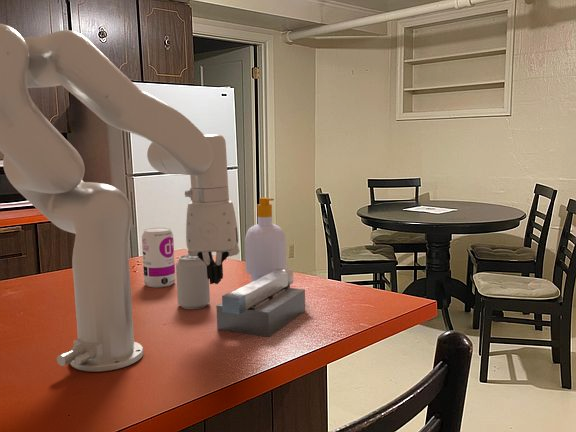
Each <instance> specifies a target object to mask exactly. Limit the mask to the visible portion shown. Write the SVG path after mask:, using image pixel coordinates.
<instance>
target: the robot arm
mask: <svg viewBox="0 0 576 432" xmlns="http://www.w3.org/2000/svg"><path fill="white" fill-rule="evenodd" d="M58 86H60V87H61V86H62V87H63V88H65V90H67V91H68V92H69V93H70V94H71V95H73V96H74V97H75V98H76V99H77V100H78V101H80V102H81V103H82V104H83V105H84V106H85V107H87V109H89V110H90V111H91V112H92V113H93V114H95V115H96V116H97V117H98V118H99V119H100V120H101V121H103V122H104V123H105V124H107V125H109V126H111V127H113V128H115V129H118V130H120V131H123V132H126V133H130V134H133V135H137V136H139V137H141V138H144V139H146V140H148V141H150V142H151V143H150V144H149V147H148V148H147V156H146V157H147V160H148V162H149V164H150V166H151V167H152V168H153V169H154V170H155V171H157V172H158V173H162V174H167V175H185V176H189V177H190V188H189V189H188V190H185V191H184V197H185V198H190V202H188V204H187V208H186V223H185V226H186V227H185V230H186V231H185V237H186V238H185V241H186V242H185V243H186V248H187V250H188V251H187V254H189V255H192V256H196V257H199V258H200V259H201V260H202V261H203V262H204V264H205V265H207V278H208V279H209V285H218V284H219V283H220V282H221V281H222V279H223V278H224V270H223V269H224V267H223V263H224V261H226V260H227V259H228V258H229V257H233V256H236V255H238V254H239V253H240V248H239V245H238V244H239V232H238V224H237V218H236V211H235V207H234V204H233V200H230V198H229V197H230V195H229V178H228V176H229V175H228V159H227V143H226V139H225V137H224V136H223V135H221V134H204V133H203V132H202V131H201V130H200V129H199V128H198V127H197V125H195V124H194V123H193V122H192V121H191V120H190V119H189V118H188V117H187V116H186V115H184V114H183V113H181V112H180V111H178V110H177V109H175V108H174V107H172V106H170V105H168V104H167V103H165V102H164V101H162V100H160V99H159V98H157V97H156V96H153V95H152V94H150V93H148V92H146V91H145V90H142V89H141V88H139V87H138V86H137V85H136V84H135V83H134V82H133V81H132V80H131V79H130V78H129V77H128V76H127V75H126V74H124V72H122V71H121V70H120V68H118V67H117V66H116V65H115V64H114V63H113V61H111V60H110V59H109V58H108V57H107V56H106V55H105V54H104V53H103V52H102V51H101V50H100V49H99V48H98V47H97V46H95V45H94V44H93V42H92V41H90V40H89V39H88V38H87V37H85V36H84V35H83V34H81V33H79V32H77V31H75V30H70V29H64V30H59V31H54V32H51V33H48V34H45V35H42V36H22V35H21V34H20V33H19V32H18V31H17V30H16V29H14V27H11V26H10V25H7V24H4V23H0V153H1V154H3V159H2V164H3V165H2V166H3V170H4V174H5V175H6V178H7V180H8V181H9V183H10V184H11V185H12V187H13V188H14V189H15V190H17V192H18V193H20V195H22V197H24V198H25V199H26V200H27V201H28V202H29V203H30V204H31V205H32V206H33V207H35V209H36V210H38V211H39V212H40V214H42V215H43V216H44V217H45V218H46V219H47V220H48V221H50V222H51V223H52V224H53V226H56V227H57V228H58V229H60V230H63V231H64V232H68V233H70V234H71V233H72V234H75V237H74V245H73V251H72V258H71V260H72V263H71V264H72V265H71V266H72V277H73V278H72V279H73V289H74V290H73V291H74V305H75V316H76V319H75V320H76V329H77V330H76V332H77V339H75V340H73V342H72V343H73V346H72V347H71V348H70V350H69V351H65V352H63V353H61V354H59V355H57V357H56V362H57V364H58V365H59V366H61V367H64V366H66V365H68V364H70V366H71V367H72V368H74V369H76V370H78V371H81V372H82V371H83V372H93V373H94V372H99V373H100V372H108V371H114V370H119V369H122V368H125V367H129V366H131V365H133V364H134V363H136V362H138V361H139V360H141V358H142V357H143V355H144V347H143V345H142V344H141V343H139V342H137V341H135V339H134V338H135V337H134V336H135V335H134V322H133V304H132V301H133V299H132V288H131V287H132V286H131V285H132V284H131V271H130V270H131V268H130V234H131V228H132V218H133V215H132V206H131V203H130V201H129V199H128V197H127V196H126V195H125V193H124V192H122V190H120V189H119V188H118V187H115V186H114V185H112V184H111V185H110V184H107V183H101V182H100V183H99V182H92V181H90V182H89V181H84V180H83V179H84V176H85V171H86V170H85V169H86V168H85V163H84V160H83V158H82V155H80V153H79V151H78V150H77V149H76V148H75V147H74V146H73V145H72V144H71V143H70V141H68V140H67V139H66V138H65V137H64V136H63V134H62V133H61V132H60V130H58V128H56V127H55V126H54V125H53V124H52V123H51V122H50V121H49V119H48V118H47V117H46V116H45V115H44V114H43V113H42V111H41V110H40V109H39V108H38V106H37V105H36V104H35V103H34V101H33V100H32V97H31V95H30V91H29V90H28V89H35V88H52V87H58ZM215 252H216V253H215ZM213 253H215V260H214V258H213Z"/></svg>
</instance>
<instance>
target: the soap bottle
mask: <svg viewBox="0 0 576 432" xmlns="http://www.w3.org/2000/svg"><path fill="white" fill-rule="evenodd" d="M270 201H274V198H269V197H259V204H258V203H257V206H256V207H257V209H256V210H257V224H253V225H252V226H251V227H249V228H248V230H247V231H246V234H245V238H244V251H245V252H244V254H245V255H244V257H245V258H244V259H245V272H246V274H248V275H250V278H251V279H250V281H251V282H253V281H255V280H257V279H259V278H261V277H263V276H265V275H267V274H269V273H271V272H273V271H275V272H276V269H280V268H287V239H286V235H285V233H284V231H283V229H282V227H280V226H279V225H277V224H275V223H273V204H272V203H270ZM251 282H250V283H251Z"/></svg>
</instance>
